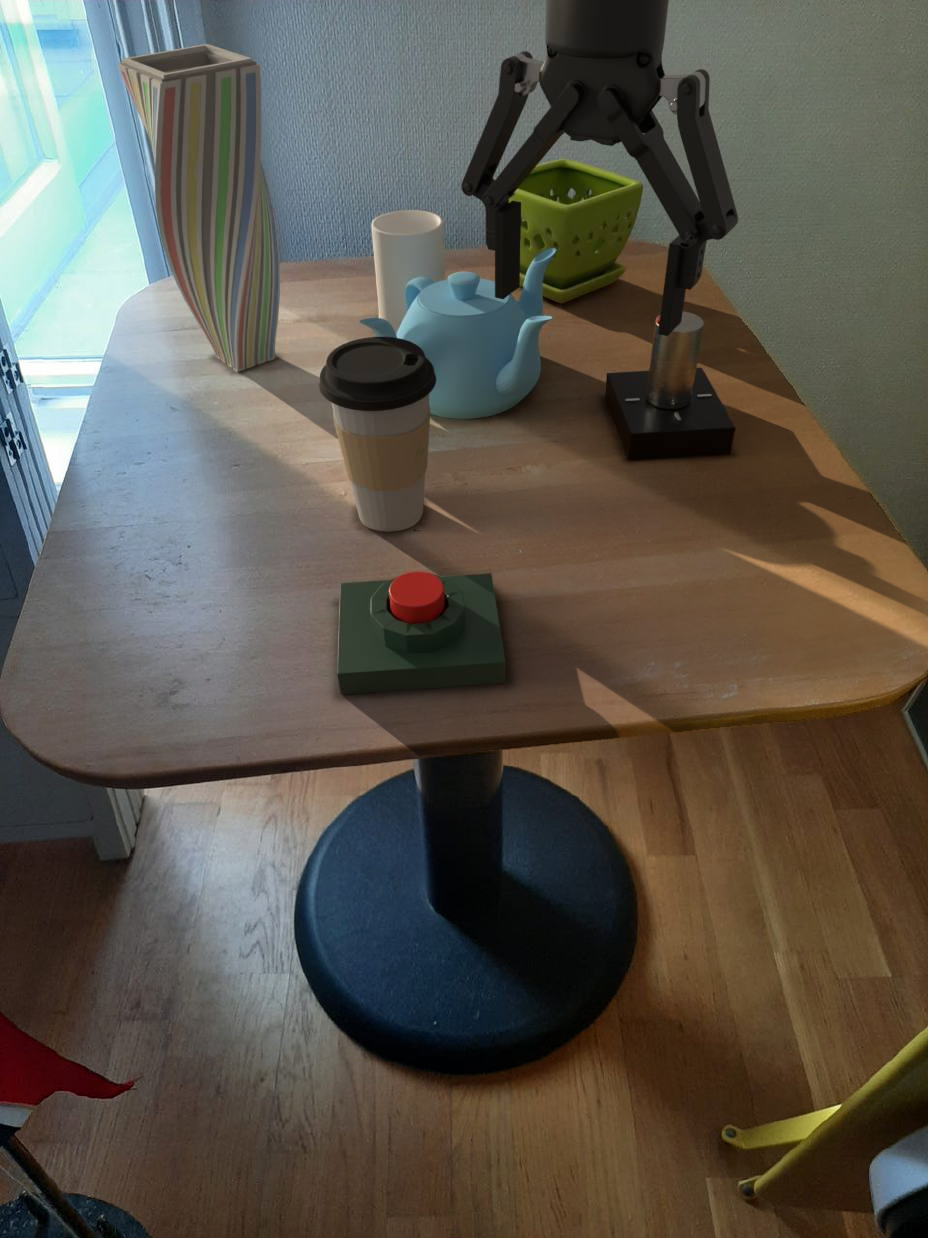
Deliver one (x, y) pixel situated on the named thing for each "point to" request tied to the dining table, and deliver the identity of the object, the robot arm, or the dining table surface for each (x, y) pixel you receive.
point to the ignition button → (416, 597)
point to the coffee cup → (382, 425)
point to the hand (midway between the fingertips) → (585, 309)
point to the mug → (405, 257)
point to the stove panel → (667, 420)
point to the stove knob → (674, 363)
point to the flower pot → (576, 225)
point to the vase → (213, 193)
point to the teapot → (474, 339)
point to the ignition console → (419, 639)
